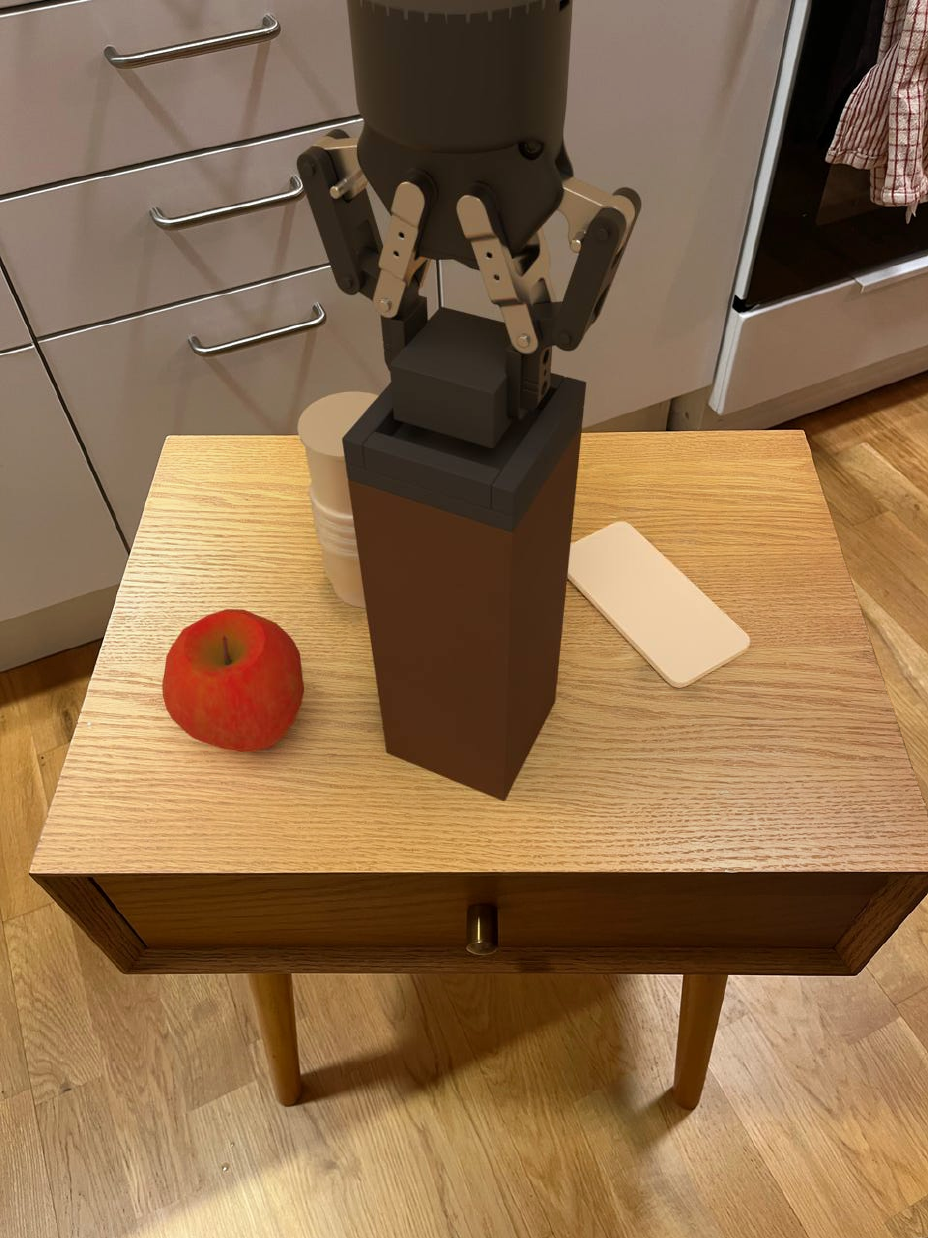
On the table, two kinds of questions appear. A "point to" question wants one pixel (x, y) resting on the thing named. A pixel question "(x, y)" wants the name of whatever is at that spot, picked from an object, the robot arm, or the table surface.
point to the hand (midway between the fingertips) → (466, 392)
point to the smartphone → (654, 604)
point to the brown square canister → (466, 581)
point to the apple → (233, 681)
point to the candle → (334, 487)
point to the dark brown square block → (454, 378)
